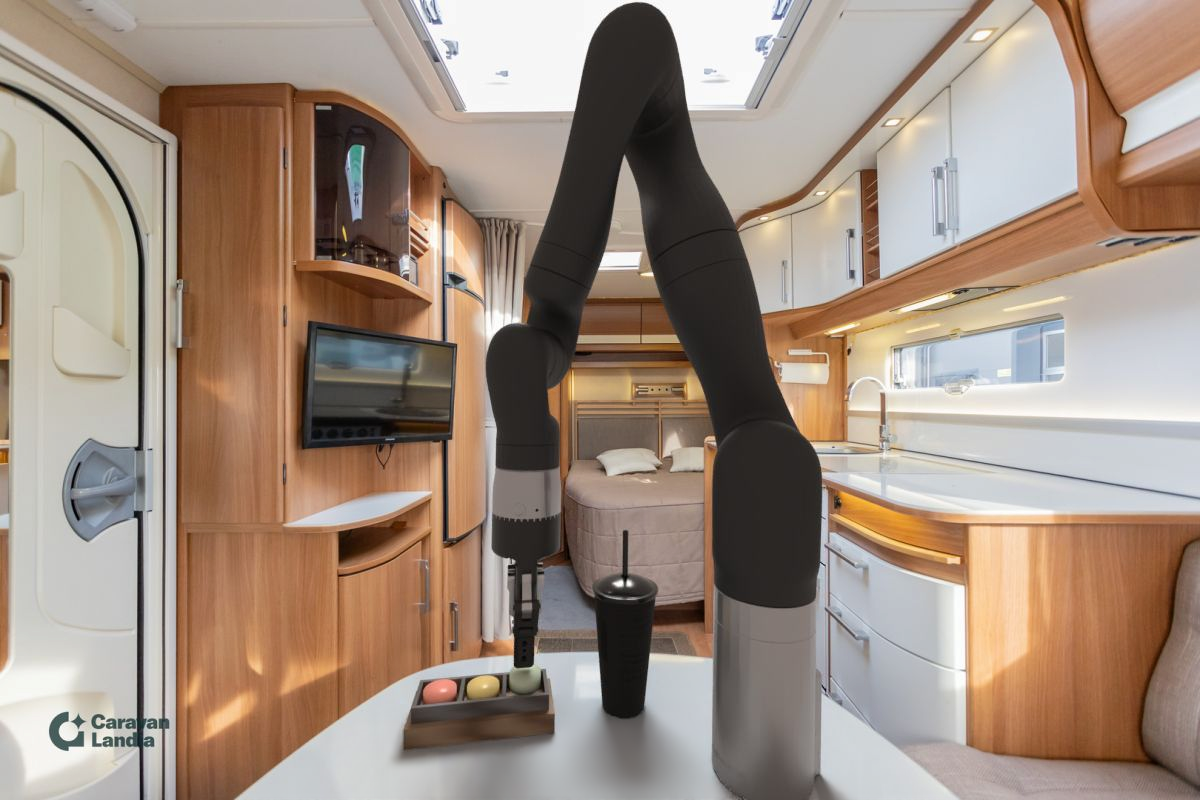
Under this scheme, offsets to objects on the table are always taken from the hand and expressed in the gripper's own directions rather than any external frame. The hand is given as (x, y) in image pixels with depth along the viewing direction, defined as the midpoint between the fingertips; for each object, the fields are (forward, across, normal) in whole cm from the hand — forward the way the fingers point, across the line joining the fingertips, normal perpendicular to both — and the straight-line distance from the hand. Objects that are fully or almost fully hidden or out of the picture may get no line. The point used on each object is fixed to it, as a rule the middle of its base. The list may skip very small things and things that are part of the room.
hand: (523, 663), depth 53 cm
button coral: (+3, 0, +9) cm, 9 cm away
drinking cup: (+6, 0, -11) cm, 13 cm away
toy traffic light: (+6, 0, +4) cm, 7 cm away
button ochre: (+3, 0, +4) cm, 5 cm away
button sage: (+2, 0, 0) cm, 2 cm away
